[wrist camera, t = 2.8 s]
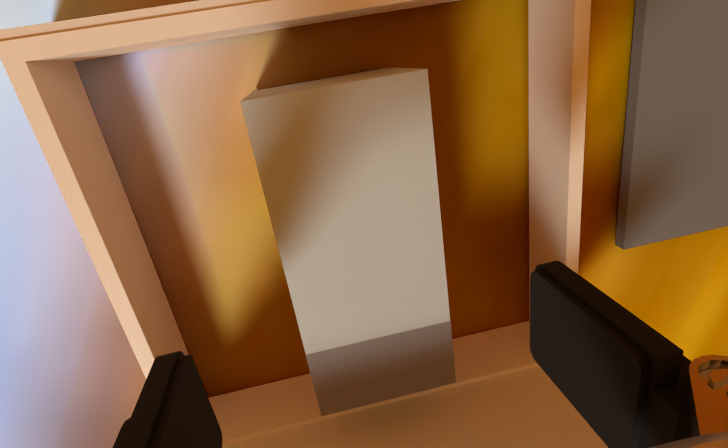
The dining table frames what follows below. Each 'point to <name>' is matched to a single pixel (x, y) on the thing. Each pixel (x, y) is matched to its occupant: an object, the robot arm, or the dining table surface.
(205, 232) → the dining table surface
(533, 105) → the carton
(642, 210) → the slate mat
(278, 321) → the dining table surface
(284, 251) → the box
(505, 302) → the dining table surface
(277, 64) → the dining table surface
